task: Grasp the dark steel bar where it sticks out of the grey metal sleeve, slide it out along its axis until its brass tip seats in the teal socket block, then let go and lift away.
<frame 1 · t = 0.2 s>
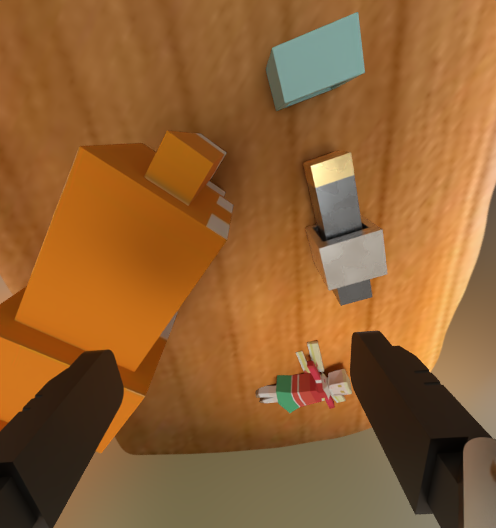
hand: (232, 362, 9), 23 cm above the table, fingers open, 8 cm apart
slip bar: (339, 233, 28), point 3 cm above the table, slide at 0.0 cm
sleeve: (334, 238, 31), on the table
toy 2: (298, 378, 43), on the table
toy: (156, 250, 32), on the table
socket: (306, 99, 25), on the table
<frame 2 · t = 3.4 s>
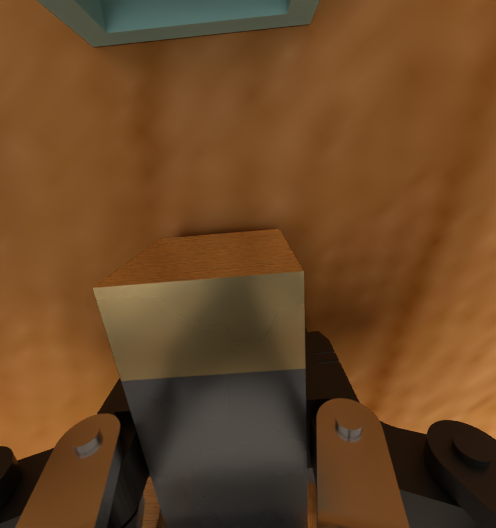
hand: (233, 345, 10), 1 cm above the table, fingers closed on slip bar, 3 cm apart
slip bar: (242, 478, 9), point 3 cm above the table, slide at 0.0 cm, touching gripper
sleeve: (247, 435, 12), on the table
socket: (200, 35, 7), on the table
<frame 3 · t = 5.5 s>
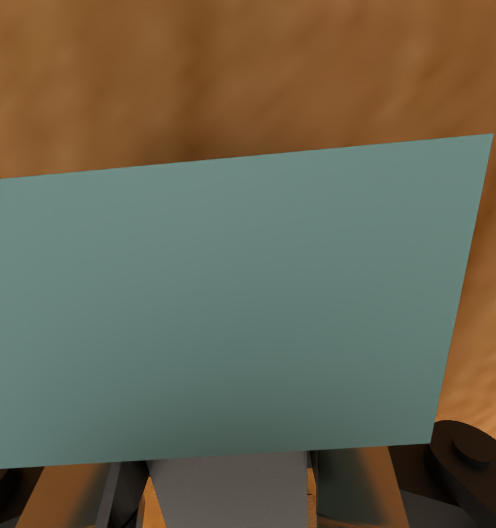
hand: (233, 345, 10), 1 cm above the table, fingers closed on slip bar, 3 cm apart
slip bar: (242, 478, 9), point 3 cm above the table, slide at 7.1 cm, touching gripper
socket: (228, 274, 9), on the table
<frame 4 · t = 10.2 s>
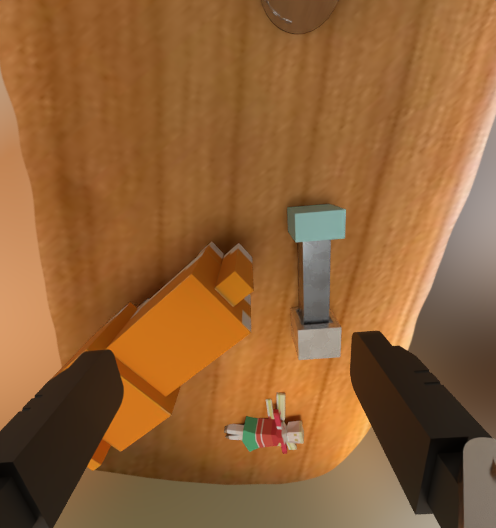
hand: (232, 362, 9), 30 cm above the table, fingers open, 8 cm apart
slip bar: (313, 277, 37), point 3 cm above the table, slide at 7.0 cm
sleeve: (309, 319, 43), on the table
toy 2: (262, 421, 51), on the table
toy: (177, 299, 42), on the table
socket: (308, 229, 38), on the table
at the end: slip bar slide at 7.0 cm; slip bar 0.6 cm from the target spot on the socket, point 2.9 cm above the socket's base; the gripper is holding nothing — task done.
